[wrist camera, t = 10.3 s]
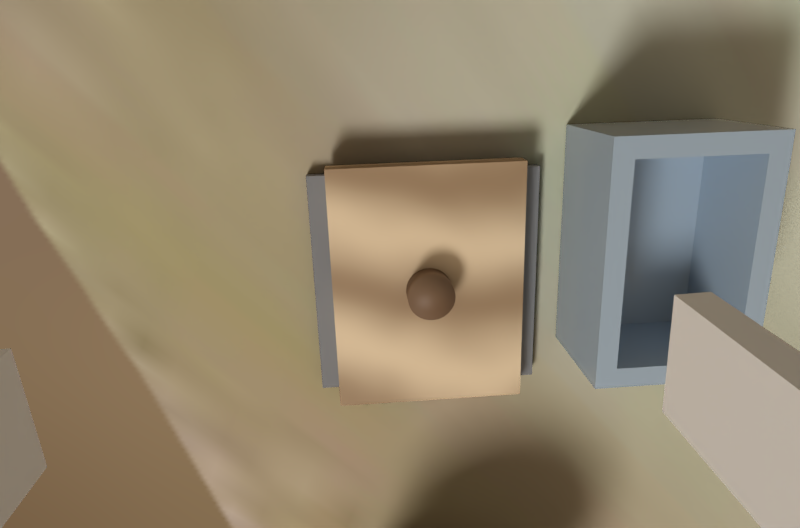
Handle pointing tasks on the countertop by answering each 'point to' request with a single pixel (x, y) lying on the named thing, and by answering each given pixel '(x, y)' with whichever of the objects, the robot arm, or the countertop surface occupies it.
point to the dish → (662, 234)
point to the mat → (324, 276)
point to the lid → (427, 278)
